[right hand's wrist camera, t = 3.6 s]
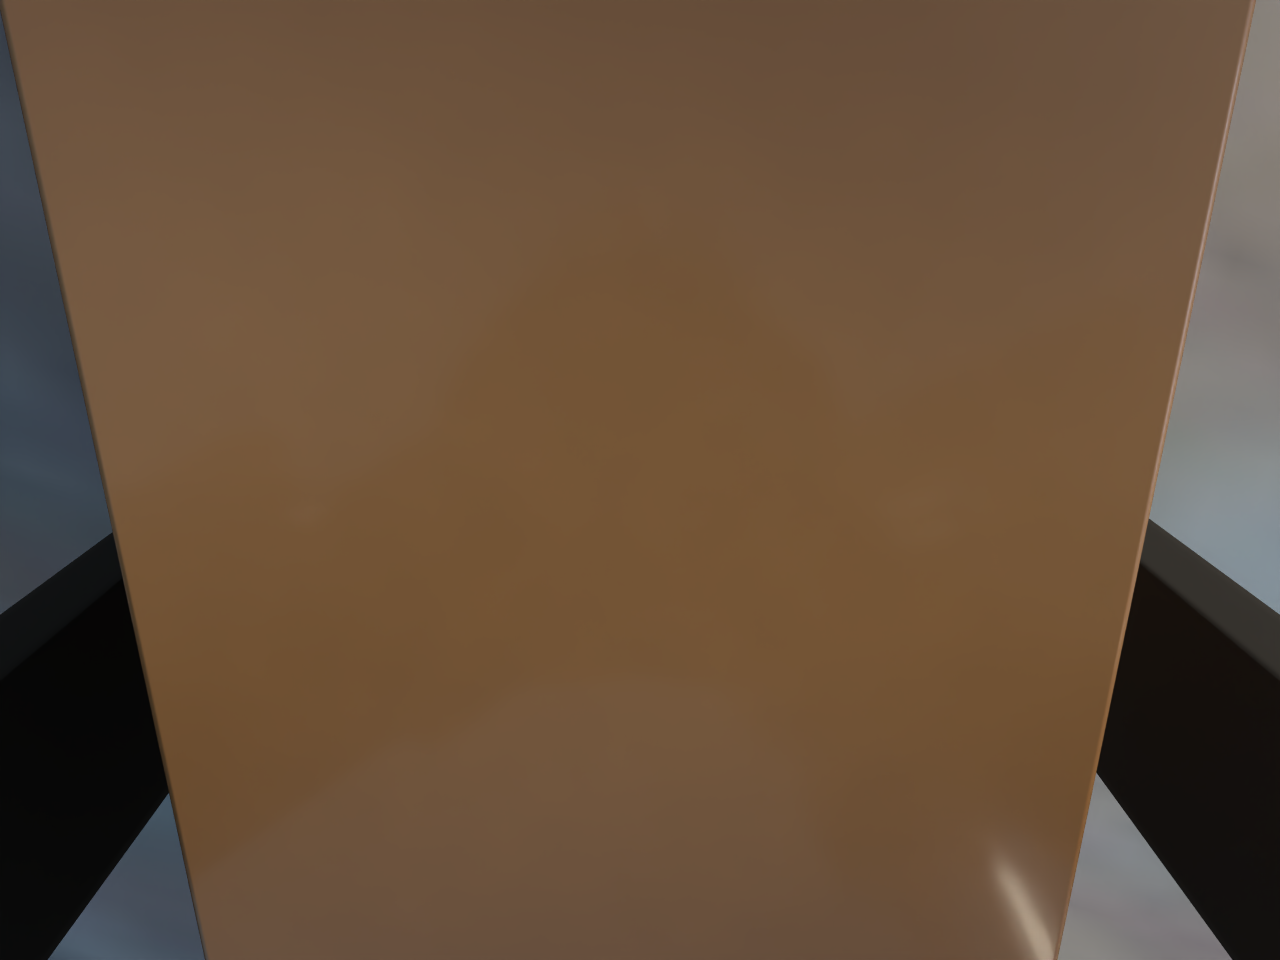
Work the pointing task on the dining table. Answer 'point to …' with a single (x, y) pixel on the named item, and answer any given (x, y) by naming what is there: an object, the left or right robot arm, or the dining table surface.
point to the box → (628, 449)
